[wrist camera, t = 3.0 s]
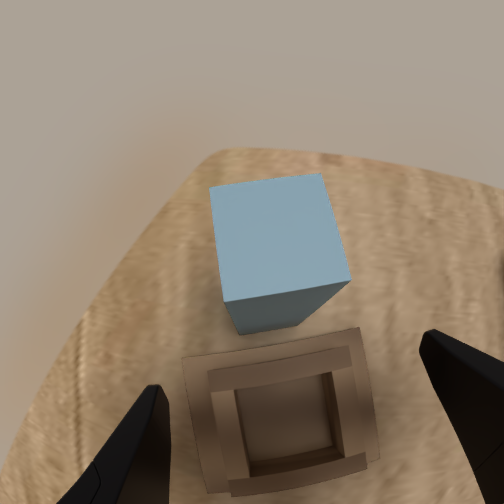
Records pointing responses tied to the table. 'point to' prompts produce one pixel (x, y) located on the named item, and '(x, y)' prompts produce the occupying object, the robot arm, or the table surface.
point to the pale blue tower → (276, 250)
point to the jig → (282, 414)
